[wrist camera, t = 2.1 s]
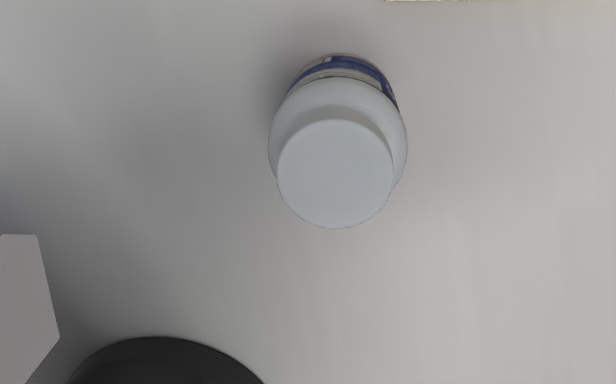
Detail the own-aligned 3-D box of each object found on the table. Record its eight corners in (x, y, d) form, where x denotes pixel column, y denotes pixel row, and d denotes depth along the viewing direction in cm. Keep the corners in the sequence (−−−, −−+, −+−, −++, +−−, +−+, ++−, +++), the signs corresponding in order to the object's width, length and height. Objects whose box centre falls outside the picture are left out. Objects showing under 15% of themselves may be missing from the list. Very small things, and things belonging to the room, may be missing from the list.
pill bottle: (384, 164, 28) (400, 257, 19) (282, 149, 28) (249, 236, 19) (404, 59, 26) (431, 108, 17) (293, 44, 26) (262, 86, 17)
